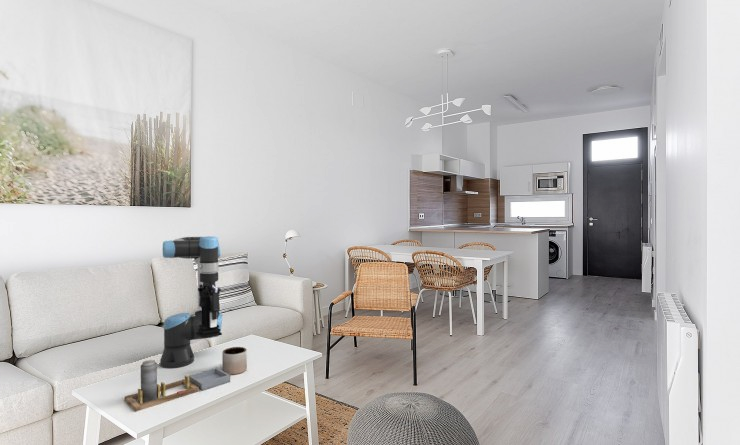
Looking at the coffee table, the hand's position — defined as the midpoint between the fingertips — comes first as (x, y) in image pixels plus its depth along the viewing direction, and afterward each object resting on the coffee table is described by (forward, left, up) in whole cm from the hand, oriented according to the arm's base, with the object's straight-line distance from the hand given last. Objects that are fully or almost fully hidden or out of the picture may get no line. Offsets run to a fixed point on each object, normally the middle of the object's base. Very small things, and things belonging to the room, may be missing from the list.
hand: (209, 325), depth 175 cm
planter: (-4, +14, -25) cm, 29 cm away
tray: (0, 0, -25) cm, 25 cm away
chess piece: (0, 0, -4) cm, 4 cm away
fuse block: (-1, -19, -25) cm, 31 cm away
